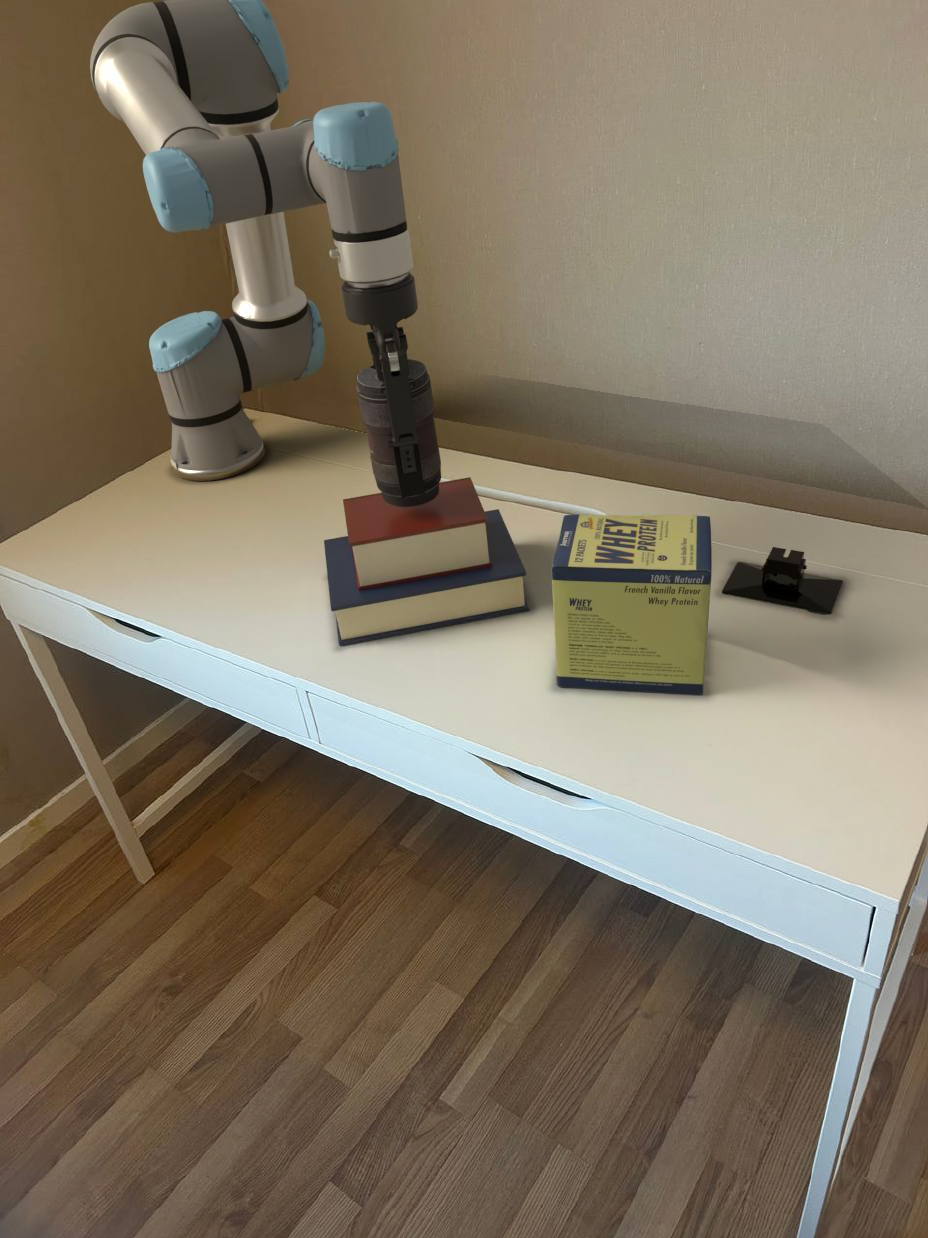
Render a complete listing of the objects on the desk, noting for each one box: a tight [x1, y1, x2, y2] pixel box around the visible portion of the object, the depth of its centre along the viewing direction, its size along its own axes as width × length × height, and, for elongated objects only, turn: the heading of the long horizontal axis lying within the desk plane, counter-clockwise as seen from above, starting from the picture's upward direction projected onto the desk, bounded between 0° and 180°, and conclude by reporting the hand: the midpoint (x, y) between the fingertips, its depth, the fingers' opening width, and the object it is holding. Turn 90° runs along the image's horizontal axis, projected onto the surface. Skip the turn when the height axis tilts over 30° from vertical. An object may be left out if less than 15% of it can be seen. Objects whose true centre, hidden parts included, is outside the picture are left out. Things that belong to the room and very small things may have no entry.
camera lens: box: [355, 358, 442, 507], centre depth 105 cm, size 8×8×15 cm
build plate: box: [721, 546, 844, 616], centre depth 109 cm, size 12×7×5 cm, turn 61°
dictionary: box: [342, 476, 492, 590], centre depth 112 cm, size 11×16×6 cm
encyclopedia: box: [323, 508, 530, 647], centre depth 116 cm, size 16×23×6 cm
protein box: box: [550, 514, 713, 696], centre depth 97 cm, size 10×16×16 cm
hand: (408, 477), depth 108 cm, fingers closed on camera lens, 8 cm apart
